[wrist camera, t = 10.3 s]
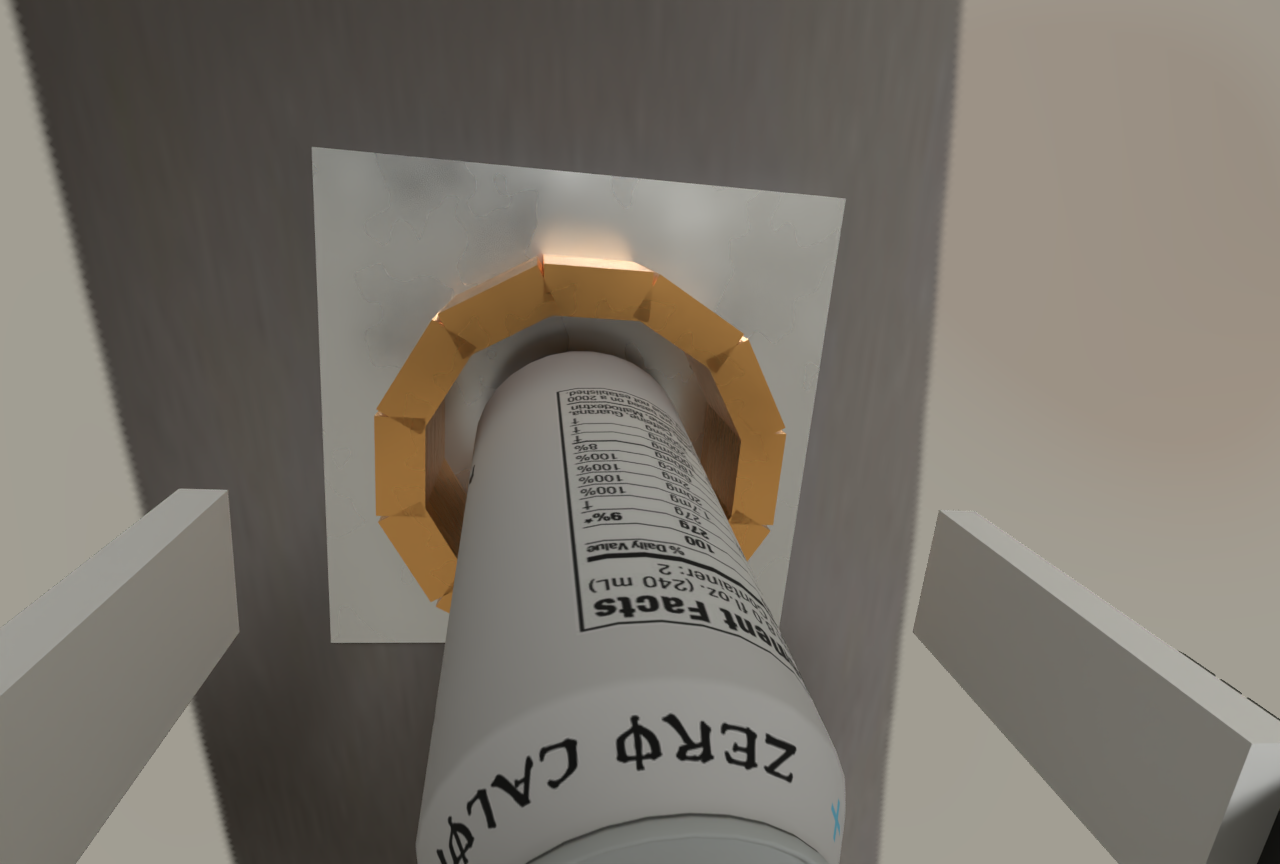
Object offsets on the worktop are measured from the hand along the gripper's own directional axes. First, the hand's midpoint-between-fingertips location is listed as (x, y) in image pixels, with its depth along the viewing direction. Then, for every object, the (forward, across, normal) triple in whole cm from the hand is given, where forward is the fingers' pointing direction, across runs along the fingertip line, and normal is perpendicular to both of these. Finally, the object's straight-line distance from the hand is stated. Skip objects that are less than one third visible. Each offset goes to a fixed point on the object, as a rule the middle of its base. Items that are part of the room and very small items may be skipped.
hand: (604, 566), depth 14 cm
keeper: (+11, 0, 0) cm, 11 cm away
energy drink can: (+9, 0, 0) cm, 9 cm away
